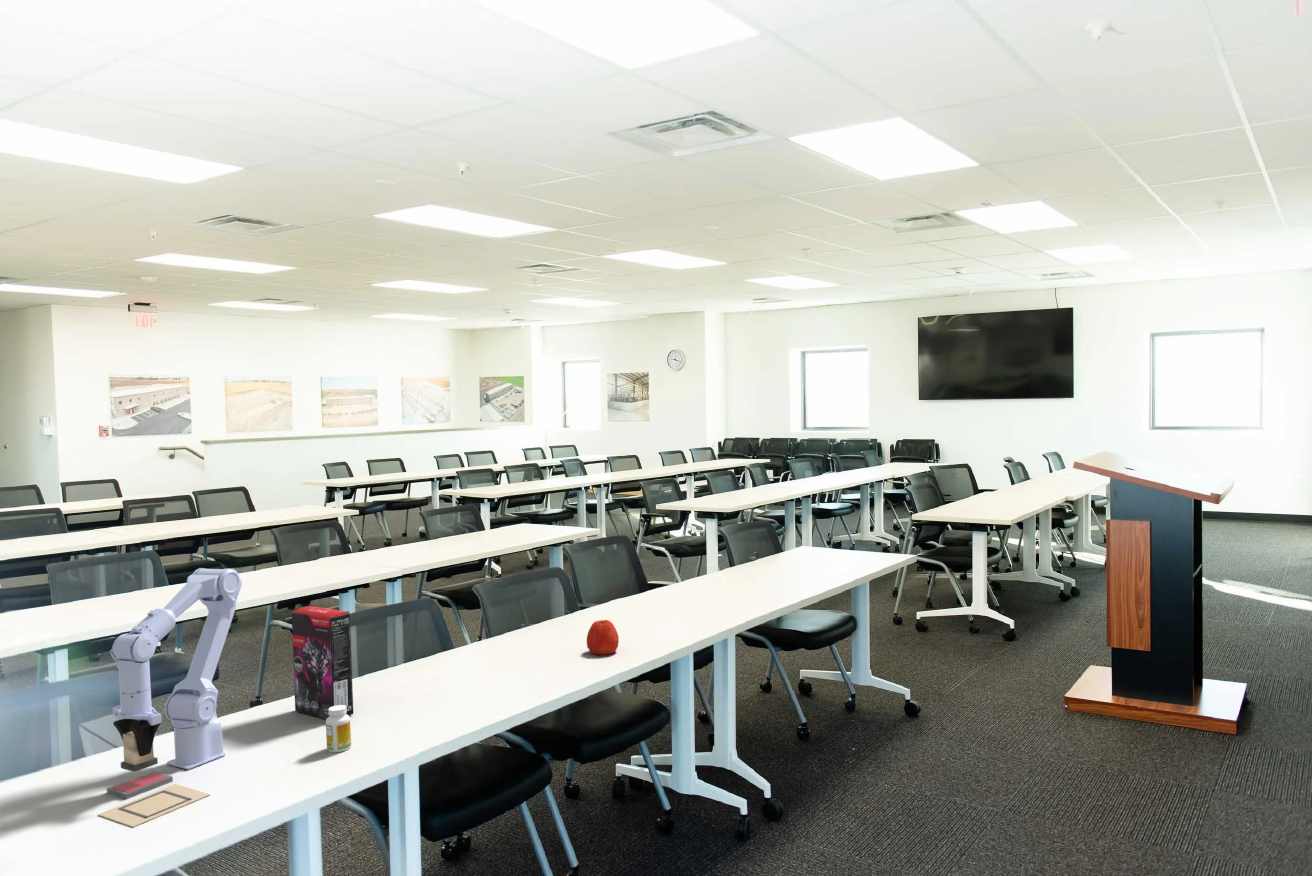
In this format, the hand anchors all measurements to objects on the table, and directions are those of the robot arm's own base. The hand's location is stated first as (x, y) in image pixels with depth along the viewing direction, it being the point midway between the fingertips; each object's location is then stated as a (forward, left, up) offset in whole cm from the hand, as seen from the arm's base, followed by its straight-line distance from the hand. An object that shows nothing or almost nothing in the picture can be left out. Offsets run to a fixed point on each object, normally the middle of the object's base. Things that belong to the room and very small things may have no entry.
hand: (138, 752), depth 192 cm
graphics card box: (-50, -2, -8) cm, 51 cm away
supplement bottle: (-34, +22, -8) cm, 41 cm away
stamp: (0, 0, -3) cm, 3 cm away
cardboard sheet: (+4, +12, -7) cm, 15 cm away
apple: (-129, +34, -8) cm, 134 cm away
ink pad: (0, 0, -7) cm, 7 cm away
